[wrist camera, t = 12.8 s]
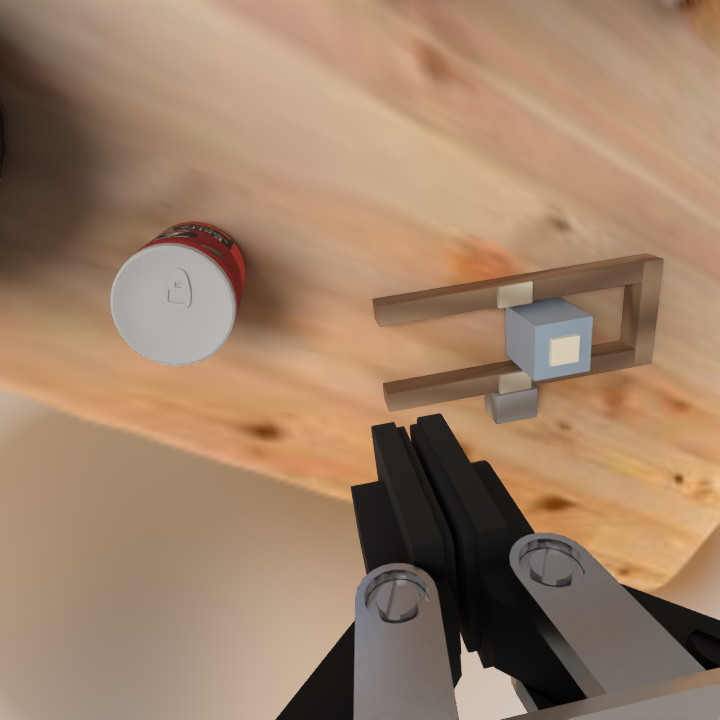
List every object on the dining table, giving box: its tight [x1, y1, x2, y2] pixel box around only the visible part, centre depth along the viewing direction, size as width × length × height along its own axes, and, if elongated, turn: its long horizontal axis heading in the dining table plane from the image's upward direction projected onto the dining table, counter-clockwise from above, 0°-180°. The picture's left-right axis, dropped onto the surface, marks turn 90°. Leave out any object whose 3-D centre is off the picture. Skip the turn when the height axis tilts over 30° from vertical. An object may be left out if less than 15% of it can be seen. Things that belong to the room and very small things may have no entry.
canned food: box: [110, 222, 245, 366], centre depth 37 cm, size 8×8×11 cm
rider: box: [505, 297, 593, 381], centre depth 45 cm, size 5×5×6 cm
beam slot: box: [373, 254, 663, 424], centre depth 47 cm, size 13×26×3 cm, turn 97°
